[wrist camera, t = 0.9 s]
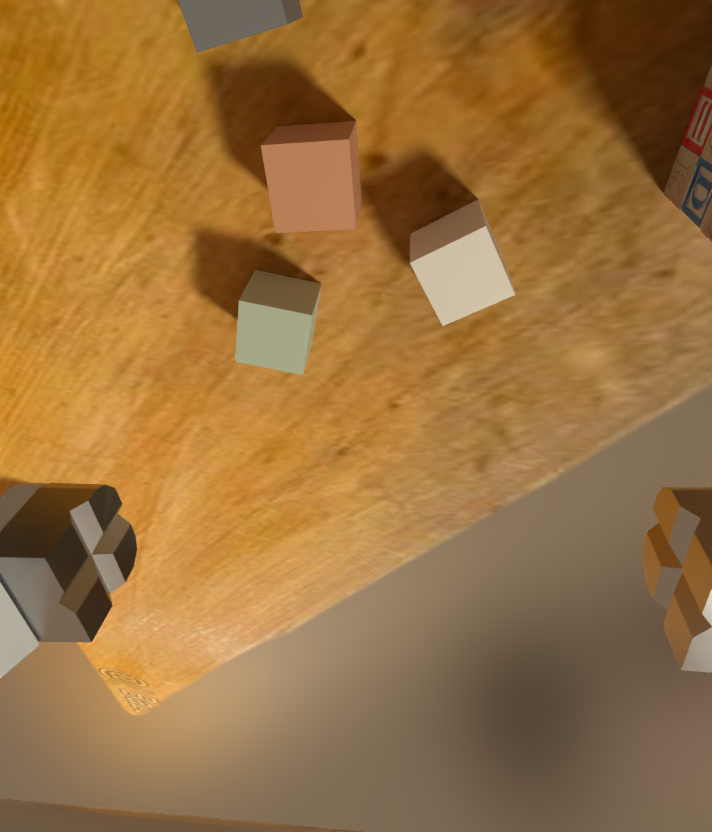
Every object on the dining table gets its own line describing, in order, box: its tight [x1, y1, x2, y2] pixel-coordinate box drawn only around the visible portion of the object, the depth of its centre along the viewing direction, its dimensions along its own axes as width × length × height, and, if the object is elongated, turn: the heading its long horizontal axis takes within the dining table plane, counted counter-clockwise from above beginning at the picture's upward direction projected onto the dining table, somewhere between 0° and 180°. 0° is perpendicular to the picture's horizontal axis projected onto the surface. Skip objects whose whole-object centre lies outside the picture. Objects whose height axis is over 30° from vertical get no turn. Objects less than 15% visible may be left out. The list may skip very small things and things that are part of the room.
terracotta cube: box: [261, 121, 362, 233], centre depth 35 cm, size 5×5×5 cm
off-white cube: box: [410, 199, 515, 326], centre depth 38 cm, size 5×5×5 cm
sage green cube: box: [235, 270, 321, 375], centre depth 42 cm, size 5×5×5 cm
